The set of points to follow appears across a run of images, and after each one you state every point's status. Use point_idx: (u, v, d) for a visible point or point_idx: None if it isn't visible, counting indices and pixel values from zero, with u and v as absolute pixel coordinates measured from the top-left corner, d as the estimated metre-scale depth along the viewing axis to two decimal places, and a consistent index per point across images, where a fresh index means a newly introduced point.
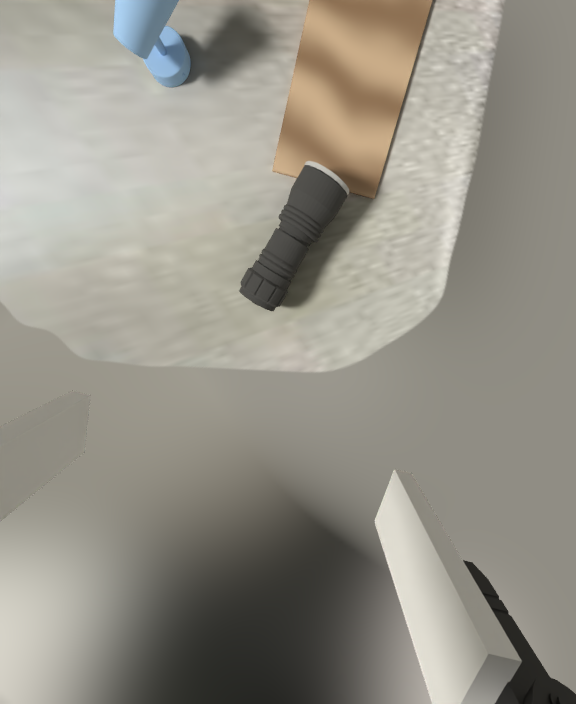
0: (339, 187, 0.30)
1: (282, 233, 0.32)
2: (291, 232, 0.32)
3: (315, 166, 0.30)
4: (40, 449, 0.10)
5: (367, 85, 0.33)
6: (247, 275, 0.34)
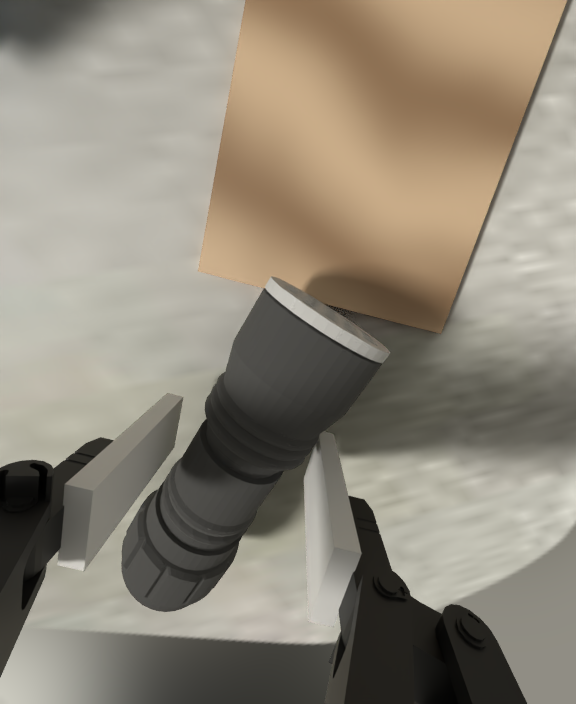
0: (366, 364, 0.10)
1: (209, 462, 0.12)
2: (233, 461, 0.12)
3: (293, 308, 0.10)
4: (157, 443, 0.12)
5: (436, 63, 0.12)
6: (132, 538, 0.14)
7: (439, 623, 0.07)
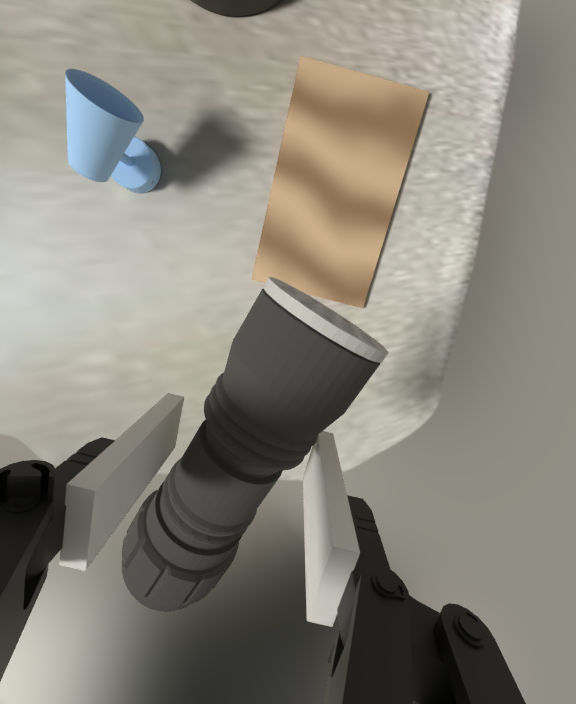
0: (363, 363, 0.10)
1: (208, 462, 0.12)
2: (232, 461, 0.12)
3: (291, 309, 0.10)
4: (158, 443, 0.12)
5: (354, 194, 0.30)
6: (131, 538, 0.14)
7: (437, 622, 0.07)
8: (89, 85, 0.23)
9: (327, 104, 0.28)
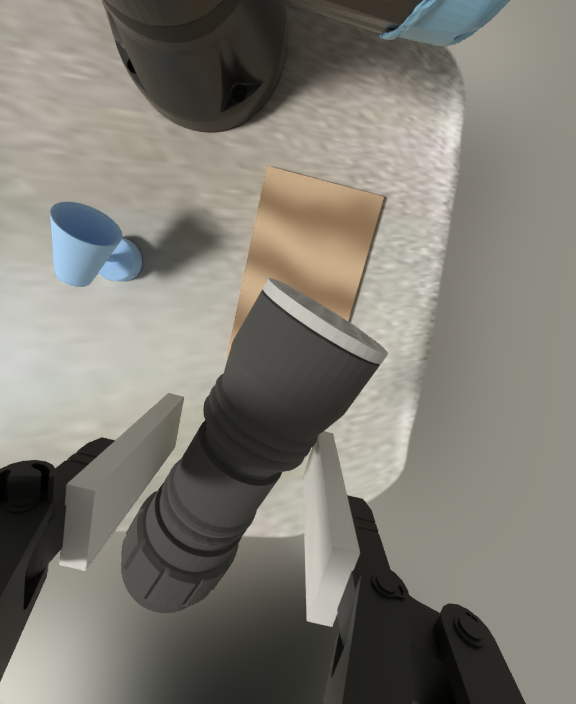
0: (363, 365, 0.10)
1: (208, 463, 0.12)
2: (232, 463, 0.12)
3: (291, 310, 0.10)
4: (158, 443, 0.12)
5: (319, 283, 0.33)
6: (131, 539, 0.14)
7: (437, 622, 0.07)
8: (73, 211, 0.25)
9: (292, 206, 0.31)
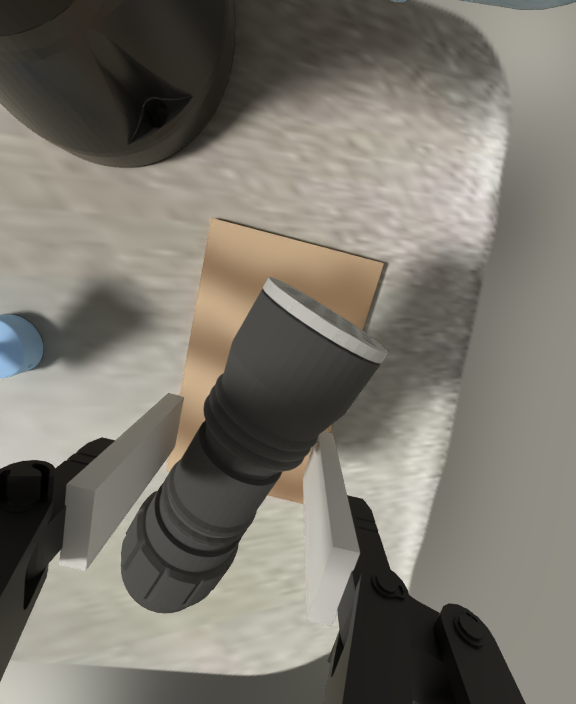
0: (364, 364, 0.10)
1: (208, 463, 0.12)
2: (232, 462, 0.12)
3: (291, 309, 0.10)
4: (158, 443, 0.12)
5: None
6: (131, 540, 0.14)
7: (437, 622, 0.07)
8: None
9: (249, 275, 0.21)
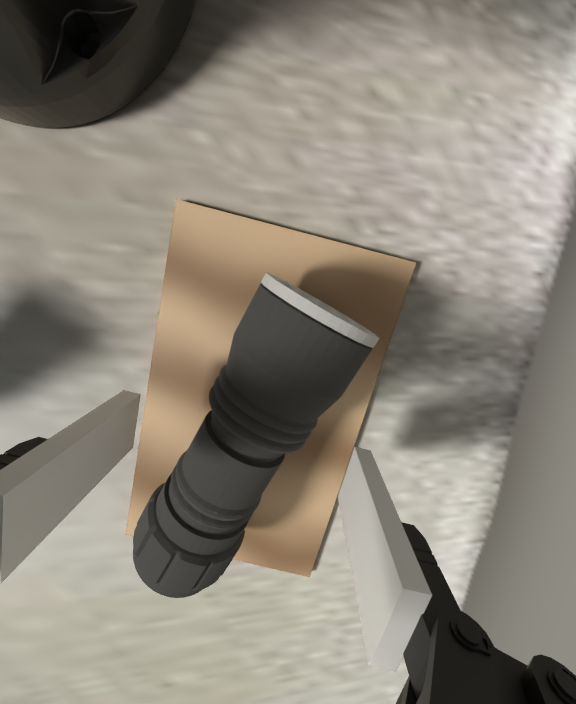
0: (356, 347, 0.11)
1: (214, 448, 0.13)
2: (237, 446, 0.13)
3: (287, 298, 0.11)
4: (104, 443, 0.11)
5: None
6: (142, 527, 0.14)
7: (526, 672, 0.07)
8: None
9: (230, 280, 0.15)
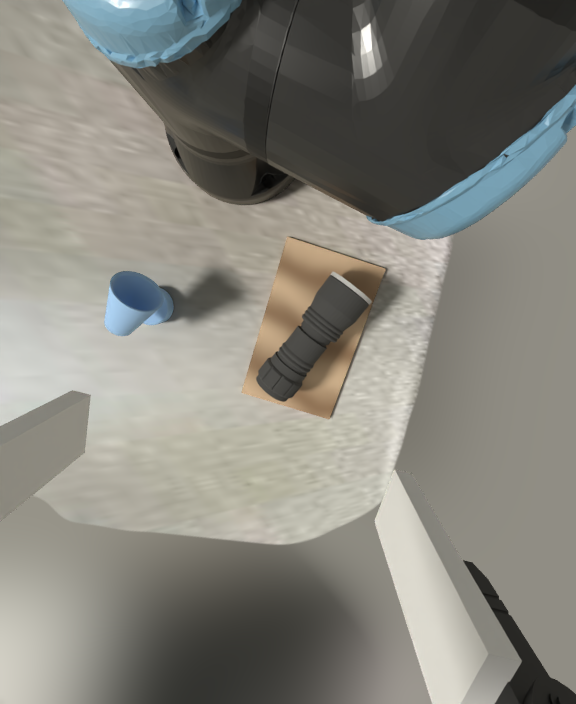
0: (363, 302, 0.32)
1: (304, 335, 0.33)
2: (313, 335, 0.33)
3: (343, 281, 0.31)
4: (40, 449, 0.10)
5: None
6: (265, 368, 0.35)
7: None
8: (125, 278, 0.30)
9: (306, 271, 0.36)
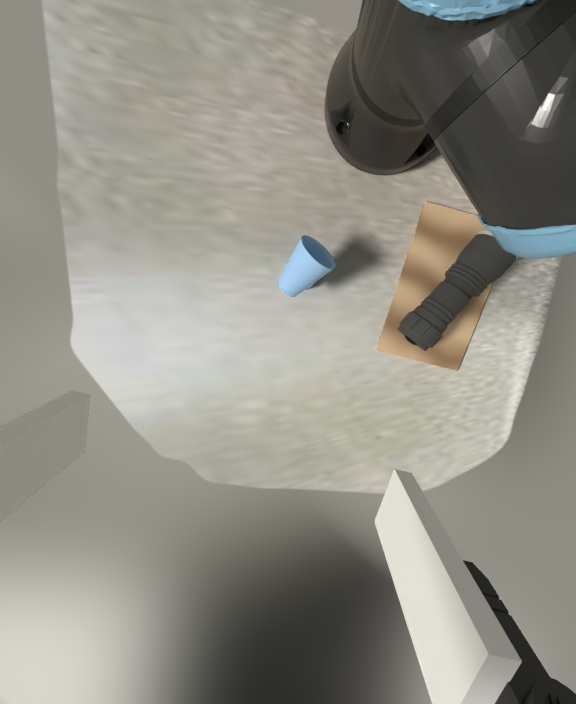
0: (514, 257, 0.36)
1: (454, 288, 0.37)
2: (463, 288, 0.37)
3: None
4: (40, 449, 0.10)
5: None
6: (413, 319, 0.38)
7: None
8: (303, 242, 0.34)
9: (442, 232, 0.40)
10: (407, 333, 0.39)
